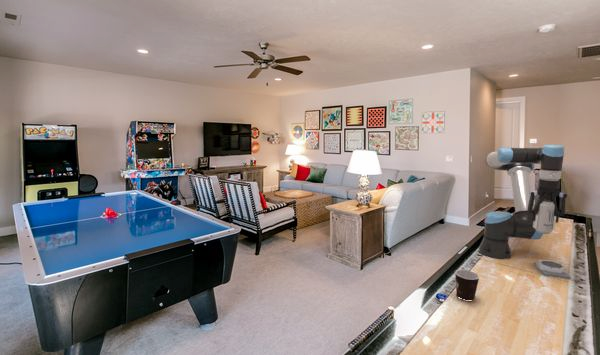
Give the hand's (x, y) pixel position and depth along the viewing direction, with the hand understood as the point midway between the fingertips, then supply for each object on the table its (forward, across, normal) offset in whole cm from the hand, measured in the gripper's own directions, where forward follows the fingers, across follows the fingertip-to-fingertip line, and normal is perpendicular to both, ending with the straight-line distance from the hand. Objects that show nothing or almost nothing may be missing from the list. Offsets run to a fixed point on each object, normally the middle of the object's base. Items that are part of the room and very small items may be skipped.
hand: (543, 228), depth 143 cm
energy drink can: (+2, 0, 0) cm, 2 cm away
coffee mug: (+23, -35, -37) cm, 56 cm away
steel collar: (+23, +7, +6) cm, 25 cm away
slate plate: (+23, +7, +6) cm, 25 cm away
